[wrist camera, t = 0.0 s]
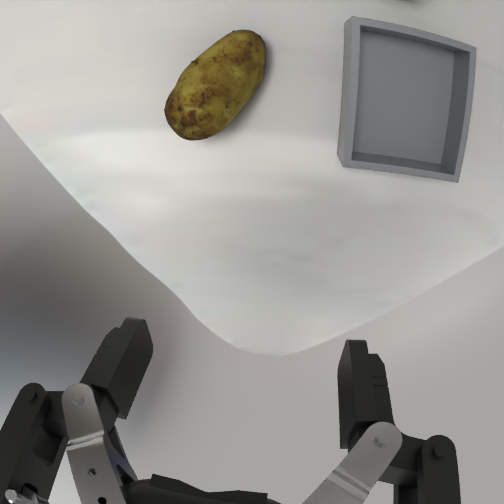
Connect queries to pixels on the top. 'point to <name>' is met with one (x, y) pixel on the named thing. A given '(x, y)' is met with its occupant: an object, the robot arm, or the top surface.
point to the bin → (404, 100)
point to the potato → (216, 85)
